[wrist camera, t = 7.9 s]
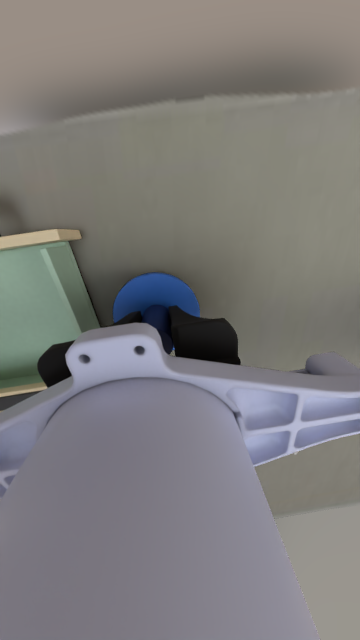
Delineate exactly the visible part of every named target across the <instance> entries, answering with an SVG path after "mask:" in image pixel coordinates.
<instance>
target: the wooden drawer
mask: <svg viewBox="0 0 360 640" xmlns="http://www.w3.org/2000/svg"><path fill="white" fill-rule="evenodd" d="M78 239H82V238H81V235H80V232H79V230H70V229H50V230H44V231H37V232H30V233H23V234H16V235H9V236H3V237H1V235H0V389H2V388H9V387H15V386H21V385H28V384H34V383H40V382H44V381H43V380H42V378H41V376H40V374H39V372H38V369H37V363H38V360H39V358H40V357H41V356H42V354H43V353H44V352H45V351H46V350H47V349H49V348H50V347H51V346H52V345H53V344H59V343H64V342H69V341H73V340H76V339H77V338H78V337H79V336H80V334H81V333H84V332H86V331H88V330H91V329H98V328H100V325H99V323H98V320H97V317H96V315H95V312H94V309H93V307H92V304H91V301H90V298H89V296H88V293H87V290H86V288H85V285H84V282H83V279H82V277H81V274H80V271H79V269H78V266H77V263H76V261H75V258H74V255H73V252H72V250H71V247H70V244H69V242H68V241H71V240H78Z"/></svg>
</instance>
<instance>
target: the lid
mask: <svg viewBox="0 0 360 640" xmlns="http://www.w3.org/2000/svg"><path fill="white" fill-rule="evenodd" d="M175 305H177V306H178V307H179V308H181V309H182V310H183V311H185V312H186V313H188V314H190V315H193V316H196V317H200V309H199V304H198V301H197V299H196V297H195V295H194V293H193V291H192V290H191V289H190V287H189V286H188V285H187V284H186V283H184V282H183V281H182V280H180V279H179V278H177V277H175V276H173V275H169V274H166V273H159V272H153V273H146V274H142V275H139V276H137V277H135V278H133V279H131V280H130V281H129V282H127V283H126V284H125V285H124V286H123V287H122V289H121V290H120V291H119V293H118V295H117V297H116V299H115V302H114V306H113V319H114V323H116V322H117V321H119V320H120V319H122V318H123V317H125V316H126V315H128V314H129V313H131V312H136V311H141V315H142V321H141V323H147V324H149V325H151V326H152V327H154V328H156V329H157V331H158V333H159V335H160V337H161V341H162V345H163V349H164V351H165V352H166V353H167V354H168V355H169V354H170V353H171V352H172V350H174V344H173V338H172V333H171V327H170V326H171V320H170V314H169V309H168V307H169V306H175Z"/></svg>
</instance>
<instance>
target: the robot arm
mask: <svg viewBox="0 0 360 640" xmlns="http://www.w3.org/2000/svg"><path fill="white" fill-rule="evenodd" d="M168 309H169V314H170V320H171V326H170V327H171V333H172V338H173V344H174V350H175V355H176V357H174V356H170V355H168V354H167V353H166V352H165V351H164V349H163V345H162V341H161V337H160V335H159V333H158V331H157V329H156V328H154V327H152V326H151V325H149V324H147V323H141V321H142V315H141V311H136V312H131V313H129V314H128V315H126V316H125V317H123V318H122V319H120V320H119V321H117V322H116V323H114V324H113V325H111V326H109V327H104V328H98V329H91V330H88V331H86V332H84V333H81V334H80V336H79V337H78V338H77V339H76V340H73V341H69V342H64V343H59V344H53V345H52V346H51V347H50V348H49V349H47V350H46V351H45V352H44V353H43V354H42V356H41V357H40V358H39V360H38V363H37V369H38V372H39V374H40V376H41V378H42V380H43V381H44V383H45V385H46V386H47V389H45V390H43V391H41V392H39V393H37V394H35V395H33V396H31V397H29V398H27V399H25V400H23V401H22V402H20V403H18V404H16V405H14V406H12V407H10V408H8V409H6V410H4V411H2V412H0V499H1V500H0V640H320V638H319V635H318V632H317V630H316V627H315V624H314V622H313V619H312V617H311V614H310V611H309V609H308V606H307V604H306V601H305V598H304V596H303V593H302V591H301V588H300V585H299V583H298V580H297V578H296V575H295V572H294V570H293V567H292V565H291V562H290V559H289V557H288V554H287V552H286V549H285V546H284V544H283V541H282V539H281V536H280V534H279V531H278V528H277V526H276V523H275V520H274V518H273V515H272V513H271V510H270V507H269V505H268V502H267V500H266V497H265V494H264V492H263V489H262V487H261V484H260V481H259V479H258V476H257V474H256V471H255V468H254V467H256V466H258V465H261V464H264V463H267V462H269V461H272V460H275V459H278V458H281V457H283V456H286V455H289V454H292V453H294V452H297V451H300V450H303V449H305V448H308V447H311V446H314V445H317V444H320V443H323V442H326V441H330V440H334V439H337V438H341V437H345V436H350V435H355V434H360V369H359V368H358V367H356V366H355V365H353V364H352V363H350V362H349V361H347V360H346V359H344V358H343V357H342V356H340V355H339V354H337V353H336V352H328V353H322V354H316V355H312V356H310V357H309V358H308V359H307V361H306V367H305V369H301V370H295V371H289V372H287V371H279V370H272V369H264V368H257V367H249V366H242V365H240V364H241V362H240V359H239V357H238V338H237V334H236V332H235V330H234V329H233V327H232V326H231V325H230V324H229V322H228V321H227V320H226V319H225V318H219V319H206V318H200V317H196V316H193V315H190V314H188V313H186V312H185V311H183V310H182V309H181V308H179V307H178V306H177V305H175V306H169V307H168Z"/></svg>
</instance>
